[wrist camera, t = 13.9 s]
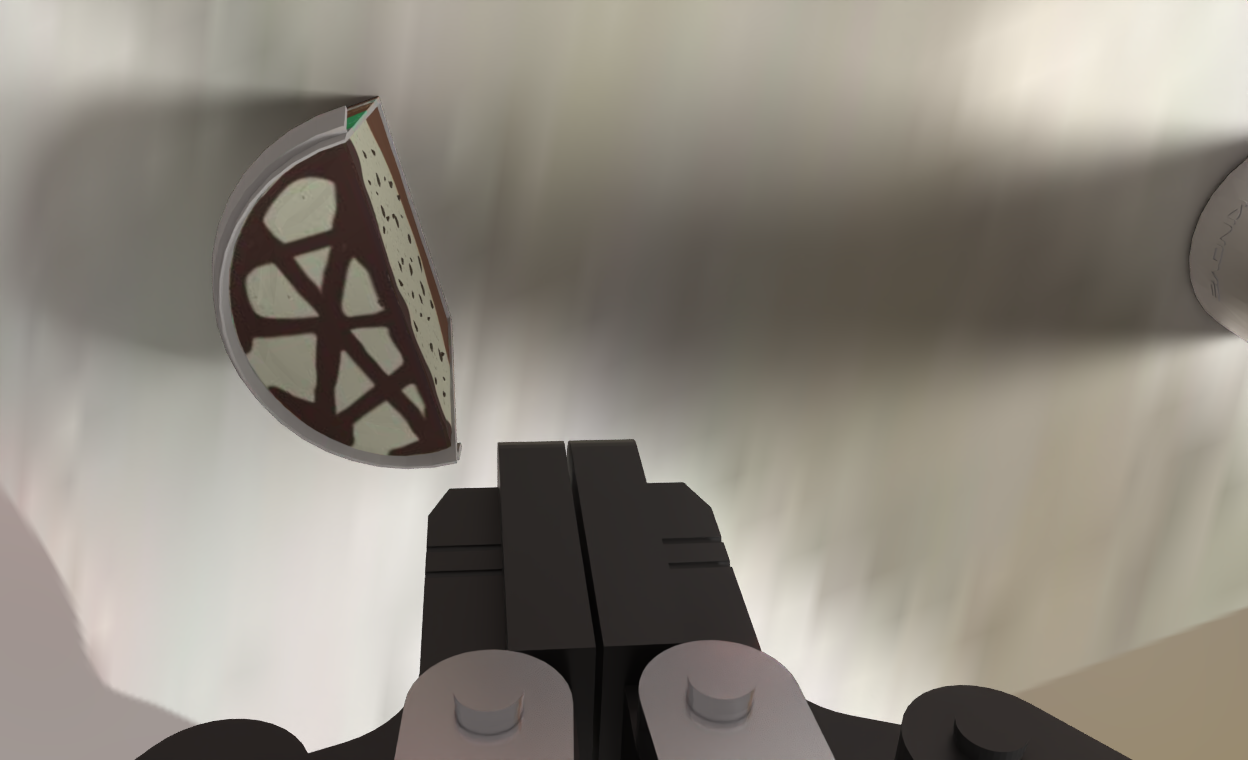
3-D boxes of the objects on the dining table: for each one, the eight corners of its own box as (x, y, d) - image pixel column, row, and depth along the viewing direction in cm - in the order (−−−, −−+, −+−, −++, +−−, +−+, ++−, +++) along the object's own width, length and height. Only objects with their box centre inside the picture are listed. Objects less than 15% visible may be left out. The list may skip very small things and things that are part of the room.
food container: (201, 98, 42) (130, 175, 33) (365, 55, 42) (339, 121, 33) (317, 389, 48) (283, 522, 39) (462, 352, 48) (461, 476, 39)
